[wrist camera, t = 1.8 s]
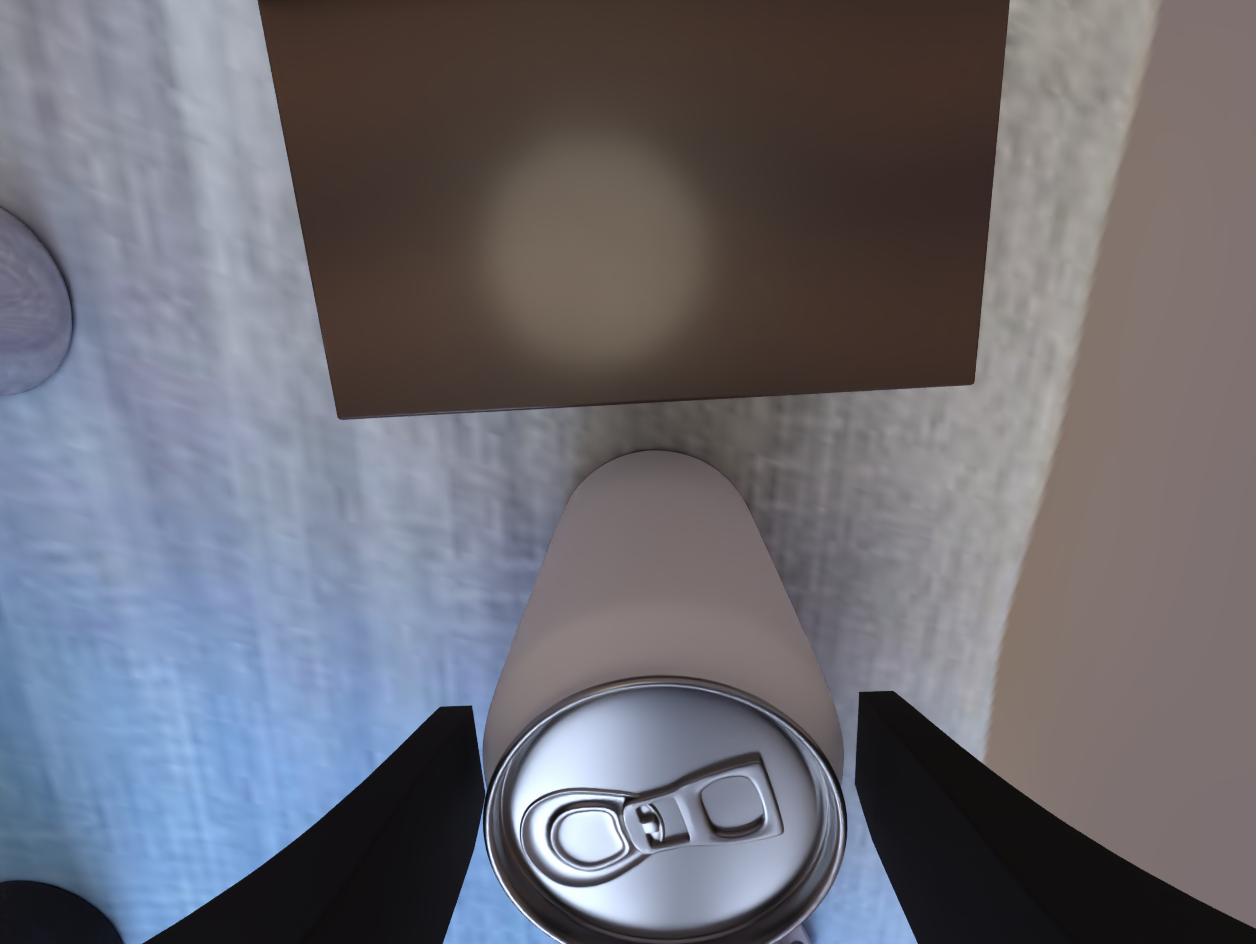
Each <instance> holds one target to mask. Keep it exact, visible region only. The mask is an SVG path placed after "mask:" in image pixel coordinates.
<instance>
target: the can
mask: <svg viewBox="0 0 1256 944" xmlns="http://www.w3.org/2000/svg"><path fill="white" fill-rule="evenodd" d="M843 763H844V749H843V739H842V732H841V728H840V724H839V720H838V716H837V712H836V709H835V706H834V703H833V700H832V697H831V695H830V692H829V690H828V687H827V684H826V682H825V679H824V677H823V675H822V672H821V670H820V668H819V665H818V663H817V661H816V658H815V656H814V654H813V651H812V649H811V647H810V645H809V642H808V640H807V638H806V635H805V633H804V631H803V629H802V626H801V624H800V622H799V620H798V617H797V615H796V613H795V611H794V608H793V606H792V604H791V602H790V599H789V597H788V595H787V593H786V590H785V588H784V586H783V584H782V581H781V579H780V577H779V575H778V573H777V570H776V568H775V566H774V564H773V561H772V559H771V557H770V555H769V553H768V550H767V548H766V546H765V544H764V542H763V539H762V537H761V535H760V533H759V531H758V528H757V526H756V524H755V522H754V520H753V518H752V516H751V514H750V511H749V509H748V508H747V506H746V504H745V502H744V500H743V498H742V497H741V495H740V494H739V492H738V491H737V490H736V488H735V487H734V486H733V485H732V484H731V482H730V481H729V480H728V479H727V478H726V477H725V476H723V475H722V474H721V473H720V472H719V471H717V470H716V469H715V468H713V467H712V466H710V465H708V464H707V463H705V462H703V461H701V460H699V459H696V458H694V457H691V456H688V455H685V454H681V453H676V452H670V451H642V452H636V453H631V454H627V455H624V456H621V457H619V458H616V459H614V460H612V461H610V462H608V463H606V464H604V465H602V466H601V467H599V468H598V469H596V470H595V471H594V472H592V473H591V474H590V475H589V476H588V477H587V478H586V479H585V480H584V481H583V482H582V483H581V484H580V485H579V486H578V487H577V489H576V490H575V491H574V493H573V494H572V496H571V497H570V499H569V501H568V503H567V505H566V507H565V509H564V511H563V513H562V516H561V518H560V520H559V523H558V525H557V528H556V530H555V533H554V535H553V538H552V540H551V543H550V546H549V548H548V551H547V553H546V556H545V558H544V561H543V564H542V566H541V569H540V571H539V574H538V577H537V579H536V582H535V584H534V587H533V590H532V592H531V595H530V598H529V600H528V603H527V605H526V608H525V611H524V613H523V616H522V619H521V621H520V624H519V627H518V629H517V632H516V635H515V637H514V640H513V643H512V645H511V648H510V651H509V653H508V656H507V659H506V661H505V664H504V667H503V670H502V672H501V675H500V678H499V681H498V684H497V687H496V690H495V693H494V696H493V699H492V702H491V705H490V708H489V712H488V717H487V721H486V726H485V732H484V739H483V766H484V774H485V781H486V786H487V793H486V797H485V803H484V811H483V832H484V840H485V846H486V850H487V854H488V858H489V861H490V864H491V866H492V869H493V871H494V873H495V876H496V878H497V880H498V882H499V883H500V885H501V887H502V888H503V890H504V892H505V893H506V895H507V896H508V897H509V899H510V900H511V901H512V903H513V904H514V905H515V906H516V907H517V909H518V910H519V911H520V912H521V913H522V914H523V915H524V916H525V917H526V918H527V919H528V920H529V921H530V922H531V923H533V924H534V925H535V926H536V927H537V928H539V929H540V930H541V931H542V932H544V933H545V934H547V935H548V936H549V937H551V938H552V939H554V940H556V941H557V942H559V943H561V944H774V943H776V942H778V941H779V940H781V939H782V938H784V937H785V936H787V935H788V934H789V933H791V932H792V931H793V930H795V929H796V928H797V927H798V926H799V925H801V924H802V923H803V922H804V921H805V920H806V919H807V918H808V917H809V916H810V915H811V914H812V913H813V912H814V911H815V909H816V908H817V907H818V906H819V904H820V903H821V902H822V900H823V899H824V898H825V896H826V895H827V893H828V892H829V890H830V888H831V886H832V885H833V883H834V881H835V879H836V876H837V874H838V872H839V869H840V866H841V863H842V860H843V856H844V852H845V847H846V840H847V813H846V806H845V801H844V797H843V793H842V790H841V783H842V776H843Z"/></svg>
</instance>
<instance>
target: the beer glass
mask: <svg viewBox="0 0 1256 944" xmlns="http://www.w3.org/2000/svg"><path fill="white" fill-rule="evenodd" d="M71 332H72V312H71V304H70V299H69V295H68V292H67V288H66V285H65V283H64V280H63V278H62V275H61V273H60V271H59V269H58V267H57V265H56V263H55V262H54V260H53V258H52V257H51V255H50V254H49V252H48V251H47V249H46V248H45V247H44V245H43V244H42V243H41V242H40V240H39V239H38V238H37V237H36V236H35V235H34V234H33V233H32V232H31V231H30V230H29V229H28V228H27V227H26V226H25V225H24V224H23V223H22V222H21V221H19V220H18V219H17V218H16V217H14V216H13V215H12V214H10V213H9V212H7V211H6V210H4V209H2V208H1V207H0V397H3V396H11V395H16V394H20V393H23V392H26V391H28V390H30V389H33V388H35V387H37V386H38V385H40V384H42V383H43V382H45V381H46V380H47V379H48V378H49V377H51V376H52V375H53V373H54V372H55V371H56V370H57V369H58V367H59V366H60V364H61V363H62V361H63V359H64V357H65V355H66V352H67V350H68V347H69V343H70V339H71Z"/></svg>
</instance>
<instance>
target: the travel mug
mask: <svg viewBox="0 0 1256 944" xmlns="http://www.w3.org/2000/svg"><path fill="white" fill-rule="evenodd" d="M0 944H122V943H121V941H120V939H119V936H118V935H117V933H116V931H115V930H114V928H113V927H112V926H111V924H110V923H109V922H108V921H107V919H106V918H105V917H104V916H103V915H102V914H101V913H99V912H98V911H97V910H96V909H95V908H93V907H92V906H91V905H89V904H88V903H86V902H85V901H83V900H82V899H80V898H78V897H76V896H74V895H72V894H70V893H68V892H66V891H63V890H61V889H58V888H55V887H52V886H48V885H44V884H40V883H33V882H18V881H16V882H5V883H0Z"/></svg>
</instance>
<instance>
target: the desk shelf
mask: <svg viewBox="0 0 1256 944" xmlns="http://www.w3.org/2000/svg"><path fill="white" fill-rule="evenodd" d="M1009 3H1010V0H258V5H259V10H260V15H261V20H262V26H263V31H264V36H265V41H266V46H267V52H268V57H269V62H270V67H271V72H272V78H273V83H274V88H275V93H276V98H277V104H278V109H279V114H280V119H281V124H282V130H283V135H284V140H285V145H286V151H287V156H288V161H289V166H290V171H291V177H292V182H293V187H294V192H295V197H296V203H297V208H298V213H299V218H300V223H301V229H302V234H303V239H304V244H305V249H306V255H307V260H308V265H309V270H310V276H311V281H312V286H313V291H314V296H315V302H316V307H317V312H318V317H319V322H320V328H321V333H322V338H323V343H324V348H325V354H326V359H327V364H328V369H329V374H330V380H331V385H332V390H333V395H334V401H335V406H336V411H337V416H338V418H339V419H341V420H347V419H365V418H383V417H401V416H420V415H438V414H456V413H474V412H492V411H510V410H528V409H546V408H565V407H583V406H601V405H619V404H637V403H655V402H673V401H692V400H710V399H728V398H746V397H764V396H782V395H800V394H819V393H837V392H855V391H873V390H891V389H909V388H927V387H946V386H964V385H972V384H974V381H975V371H976V360H977V349H978V338H979V327H980V316H981V306H982V295H983V284H984V273H985V262H986V252H987V241H988V230H989V219H990V208H991V198H992V187H993V176H994V165H995V154H996V143H997V133H998V122H999V111H1000V100H1001V89H1002V79H1003V68H1004V57H1005V46H1006V35H1007V24H1008V14H1009Z"/></svg>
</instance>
